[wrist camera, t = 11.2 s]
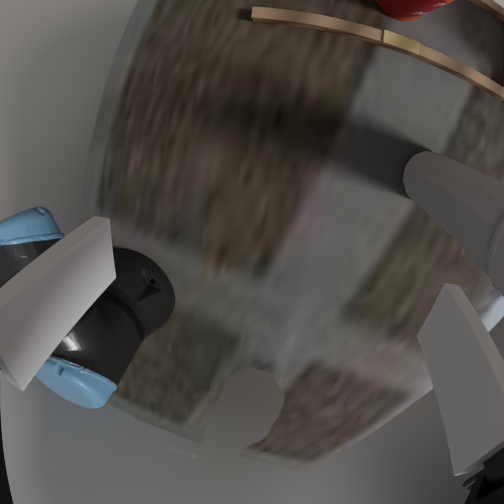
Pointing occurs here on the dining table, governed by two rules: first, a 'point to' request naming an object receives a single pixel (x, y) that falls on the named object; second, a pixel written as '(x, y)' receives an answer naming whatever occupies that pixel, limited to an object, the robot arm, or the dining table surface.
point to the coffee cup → (409, 7)
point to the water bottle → (462, 207)
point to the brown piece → (387, 40)
